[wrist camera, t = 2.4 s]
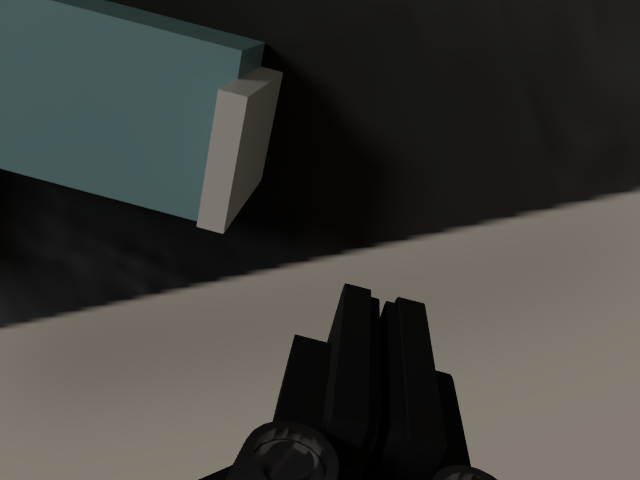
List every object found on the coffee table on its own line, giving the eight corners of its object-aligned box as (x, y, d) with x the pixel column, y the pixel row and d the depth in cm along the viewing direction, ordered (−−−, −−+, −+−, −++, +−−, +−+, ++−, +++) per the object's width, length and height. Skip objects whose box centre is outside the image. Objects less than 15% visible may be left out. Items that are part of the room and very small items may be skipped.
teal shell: (287, 48, 23) (253, 65, 17) (257, 199, 26) (219, 257, 20) (-53, -42, 24) (-201, -55, 18) (-46, 118, 26) (-172, 153, 21)
